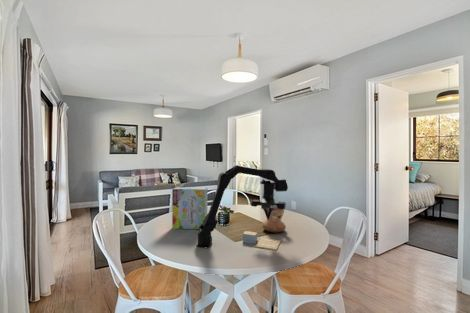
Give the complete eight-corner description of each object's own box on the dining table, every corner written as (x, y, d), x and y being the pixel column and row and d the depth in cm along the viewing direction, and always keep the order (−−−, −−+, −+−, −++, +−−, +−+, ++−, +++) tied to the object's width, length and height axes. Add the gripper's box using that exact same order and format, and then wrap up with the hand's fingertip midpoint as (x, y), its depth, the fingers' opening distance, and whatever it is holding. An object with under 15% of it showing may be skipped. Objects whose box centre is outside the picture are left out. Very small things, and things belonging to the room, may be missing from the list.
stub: (242, 242, 134) (242, 233, 134) (245, 239, 139) (245, 231, 139) (255, 243, 132) (255, 235, 132) (257, 240, 136) (257, 232, 136)
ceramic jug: (286, 236, 145) (287, 212, 145) (262, 234, 147) (262, 210, 147) (284, 227, 163) (285, 206, 163) (262, 225, 165) (263, 204, 165)
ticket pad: (253, 246, 128) (253, 245, 128) (259, 238, 140) (259, 237, 140) (276, 250, 124) (276, 248, 124) (280, 241, 136) (280, 240, 136)
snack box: (207, 226, 161) (208, 187, 161) (204, 230, 153) (205, 189, 152) (176, 224, 164) (176, 186, 163) (171, 228, 155) (171, 188, 154)
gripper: (248, 192, 132) (248, 221, 132) (283, 195, 126) (282, 225, 126) (253, 189, 142) (253, 216, 143) (286, 192, 136) (285, 219, 136)
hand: (268, 219), depth 137 cm, fingers closed
